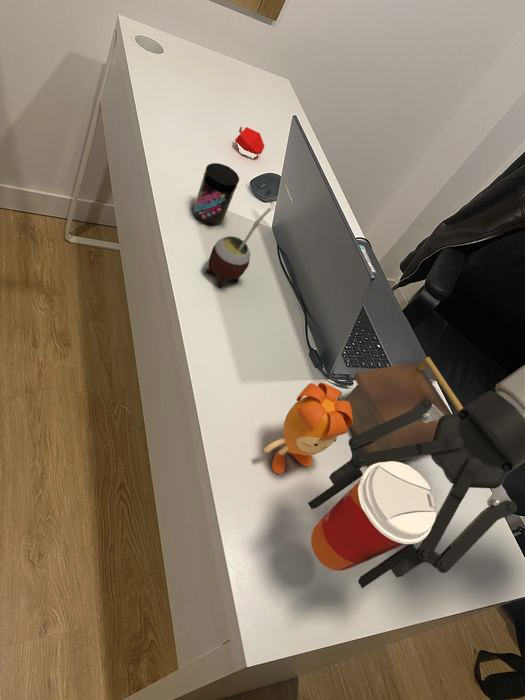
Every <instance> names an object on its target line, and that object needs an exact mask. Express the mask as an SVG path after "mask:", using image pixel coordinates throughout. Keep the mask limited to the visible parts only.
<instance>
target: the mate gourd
mask: <svg viewBox="0 0 525 700" xmlns="http://www.w3.org/2000/svg"><path fill="white" fill-rule="evenodd" d="M271 211H272V208H271V207H268V208H267V209H266V210H265V211H264V212H263V213H262V214H261V215H260V216H259V217H258V219H257V220H255V221H254V223H253V225H252V228H250V231H249V232H248V234H247V235H246V236H245V238H244V240H243V239H242V238H239V237H237V236H233V235H227V236H224V237H221V238H219V240H218V241H217V242H216V243H215V244H214V245H213V247H212V249H211V253H210V256H209V259H208V268H206V272H205V273H206V274H208V275H209V276H213V277H215V278H218V279H219V280H218V284H217V287H218V288H219V289H223V288H224V283H225V281H227V282H231V283H235V284H238V283H239V279H240V278H241V277H242V276H243V274H244V273H245V271H247V269H248V267H249V265H250V260H251V251H250V248H249V245H248V244H247V242H248V241H249V239H250V238H251V236H252V234H253V233H254V231H255V230H256V228H258V227H259V225H260V223H261V221H262V220H263V219H264V218H265V217H266V216H267V215H268V214H269V213H270V212H271Z"/></svg>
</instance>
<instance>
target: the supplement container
mask: <svg viewBox="0 0 525 700" xmlns="http://www.w3.org/2000/svg"><path fill="white" fill-rule="evenodd" d="M239 182H240V177H239V174H238V173H237V172H236V171H235V170H234V169H233V168H231V167H229V166H228V165H225V164H222V163H217V162H212V163H209V164H207V166H206V167H205V170H204V173H203V177H202V180H201V183H200V186H199V190H198V193H197V197H196V199H195V202H194V205H193V208H192V209H193V211H192V212H193V215H194V216H195V218H196V219H197V220H198V221H199V222H200V223H202V224H204V225H207V226H218V225H220V224H222V223H223V222H224V220H225V217H226V215H227V213H228V210H229V207H230V204H231V202H232V199H233V197H234V194H235V192H236V189H237V187H238V184H239Z"/></svg>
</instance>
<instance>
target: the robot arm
mask: <svg viewBox="0 0 525 700" xmlns="http://www.w3.org/2000/svg"><path fill="white" fill-rule="evenodd" d="M418 421H422V422H424V423H428V422H429V421H436V422H438V424H437V427H436V430H435V434H434V437H433V441H429V442H424V443H419V444H415V445H409V446H404V447H398V448H392V449H387V450H381V451H376V452H370V453H364V450H363V447H365V446H367V445H370V444H372V443H374V442H376V441H378V440H381V439H383V438H385V437H387V436H389V435H392V434H394V433H396V432H398V431H400V430H403V429H405V428H407V427H409V426H411V425H413V424H415V423H417V422H418ZM348 446H349V449H350V452H351V458H350V459H349V460H348V461H347V462H345V463H344V464H342V465H341V466H340V467H338V468H337V469H336V470H334V471H333V472H332V473H330V475H329V477H328V479H329V480H330V482H331V483H332V484H333V485H331V486H330V487H328V488H327V489H325V490H324V491H322V492H321V493H320V494H318V495H317V496H316V497H314V498H313V499H312V500H310V501H309V502H307V505H308V506H309V508H310V510H315V509H317V508H319V507H321V505H323V504H324V503H326V502H327V501H329V500H331V499H332V498H333V497H334V496H336V495H338V494H339V493H340V492H341V491H343V490H344V489H346V488H347V487H349V486H350V485H351V484H353V483H354V482H356V481H358V480H360V479H361V477H362V475H363V473H364V472H363V471H362V470H361V469H362V468H364V467H370V465H373V464H376V463H379V462H390V461H395V462H399V461H404V460H408V459H409V460H410V459H415V458H421V457H422V458H423V457H428V456H430V457H431V460H432V461H433V462H434V464H435V465H437V466H438V467H439V468H440V469H441V470H442V471H443V474H444V476H445V478H446V479H447V480H448V482H449V483H450V484H451V485H452V486H451V488H450V490H449V491H448V493H447V495H446V497H445V499H444V501H443V503H442V504H441V507H440V508H439V510H438V512H437V513H436V518H435V521H434V524H433V525H432V528H431V530H430V532H429V534H428V535H427V536H426V537H425V539H423V540H422V541H421V543H420V545H419V546H418V547H416V546H415V545H414V544H405V546H403V547H402V548H401V549H399V550H397V551H396V552H395V553H393V554H391V555H390V556H389V557H387V558H386V559H384V560H383V561H381V562H380V563H378V564H377V565H375V566H374V567H372V568H371V569H369V570H368V571H366V572H365V573H363V574H362V575H361V576H360V577H359V578H358V580H357V583H358V584H359V586H360V588H361V589H364V588H365V587H367V586H368V585H370V584H371V583H373V582H374V581H375V580H377V579H379V578H380V577H381V576H383V575H385V574H386V573H387V572H389V571H391V572H392V574H393V575H394V576H395V578H402V577H404V576H405V575H407V574H408V573H409V572H411V571H412V570H414V569H415V568H417V567H418V566H420V565H421V564H424V563H427V564H430V565H431V566H432V567H433V568H435V569H436V570H437V571H438V572H439V573H441V574H446V573H448V572H449V571H450V570H451V569H452V568H453V567H454V566H455V565H456V564H457V563H458V561H460V560H461V559H462V558H463V556H465V555H466V554H467V552H469V551H470V549H471V548H472V547H473V546H474V545H475V544H476V543H477V542H478V541H479V540H480V539H481V538H482V537H483V536H484V535H485V534H486V533H487V532H488V531H489V530H490V529H491V528H492V526H494V525H495V523H496V522H497V521H499V520H502V519H504V518H506V517H508V516H511V515H513V514H515V513H516V512H517V510H518V505H517V503H516V502H514V501H513V500H511V498H510V496H509V495H508V493H507V491H506V490H505V488H504V486H503V483H504V481H505V479H506V477H507V476H508V475H509V474H510V473H511V472H512V471H514V470H516V469H517V468H518V467H519V466H521V465H523V464H524V463H525V364H523V365H522V366H520V367H519V368H517V369H516V370H515V371H513V372H512V373H511V374H509V375H508V376H507V377H505V378H503V379H502V380H501V381H500V382H498V383H496V384H495V390H494V391H493V390H491V391H490V390H487V391H485V392H484V393H482V394H481V395H479V396H478V397H477V398H475V399H474V400H472V401H471V402H470V403H468V404H466V405H465V406H464V407H463V408H462V409H461V410H460V411H456V412H454V413H452V414H447V415H444V414H443V413H442V412H441V411H439V410H438V409H437V408H436V407H435V406H434V405H433V404H432V401H431V400H430V399H429V398H423V399H422V400H421V401H420V402H419V403H418V404H417V405H416V406H415V407H414V408H413V409H412V410H411V411H409V412H406V413H404V414H402V415H400V416H398V417H395V418H393V419H391V420H389V421H387V422H385V423H382V424H380V425H378V426H376V427H374V428H372V429H369V430H367V431H365V432H363V433H361V434H358V435H356V436H354V435H353V436H352V437H350V438H349V439H348ZM471 488H472V489H490V490H491V495H490V496H489V497H488V498H487V499H486V504H487V507H485V508H484V509H483V510H482V511H481V512H480V513H479V514H478V515H477V516H476V517H475V518H474V519H473V520H472V521H471V522H470V523H469V524H468V525H467V526H466V527H465V528H464V529H463V530H462V531H461V532H460V533H459V535H457V537H455V538H454V540H452V541H451V543H450V544H448V546H447V547H446V548H445V549H444V550H443V551H442V552H441V553H440V552H438V551H436V549H437V547H438V545H439V543H440V541H441V540H442V538H443V536H444V534H445V532H446V530H447V528H448V527H449V525H450V523H451V521H452V519H453V518H454V516H455V514H456V512H457V510H458V509H459V506H460V505H461V503H462V501H463V500H464V498H465V497H466V495H467V493H468V491H469V489H471Z"/></svg>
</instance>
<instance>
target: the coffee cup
mask: <svg viewBox="0 0 525 700" xmlns="http://www.w3.org/2000/svg"><path fill="white" fill-rule="evenodd" d="M362 473H363V475H362V476H361V477H360V479H359V481H358V482H357V483H355V484H354V485H353V487H352V488H351V489H350V490H349V491H348V492H347V493H345V494H344V496H343V497H342V498H341V499H340V500H339V501H338V502H336V504H334V506H332V507H331V508H330V510H329V511H327V512H326V513H325V514H324V516H322V518H321V519H320V520H319V521H318V522H317V523H316V524H315V526H314V528H313V529H312V532H311V536H310V544H311V549H312V551H313V554H314V556H315V557H316V559H317V561H319V563H320V564H321V565H322V566H323V567H325V568H326V569H329V570H331V571H336V572H341V571H346V570H349V569H351V568H353V567H356V566H359V565H361V564H364V563H365V562H368V561H370V560H373V559H374V558H377V557H379V556H381V555H383V554H386V553H388V552H390V551H392V550H395V549H397V548H399V547H402V546H404V545H408V544H413V545H414V544H417V543H420V542H422V541H423V539H425V537H426V536H427V535H428V534H429V532H430V530H431V528H432V525H433V524H434V521H435V518H436V516H437V512H436V510H435V508H436V503H435V501H434V500H435V499H434V495H433V494H432V492H431V491H432V488H431V487H430V485H429V483H428V481H427V480H426V479H425V478H424V477H423V476H422V475H421V474H420V473H419V471H417V470H415V469H414V467H412V466H410V465H408V464H405V463H403V462H400V461H395V462H394V461H390V462H379V463H376V464H373V465H371V466H368V467H367V468H366V469H365V471H364V472H362Z"/></svg>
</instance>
